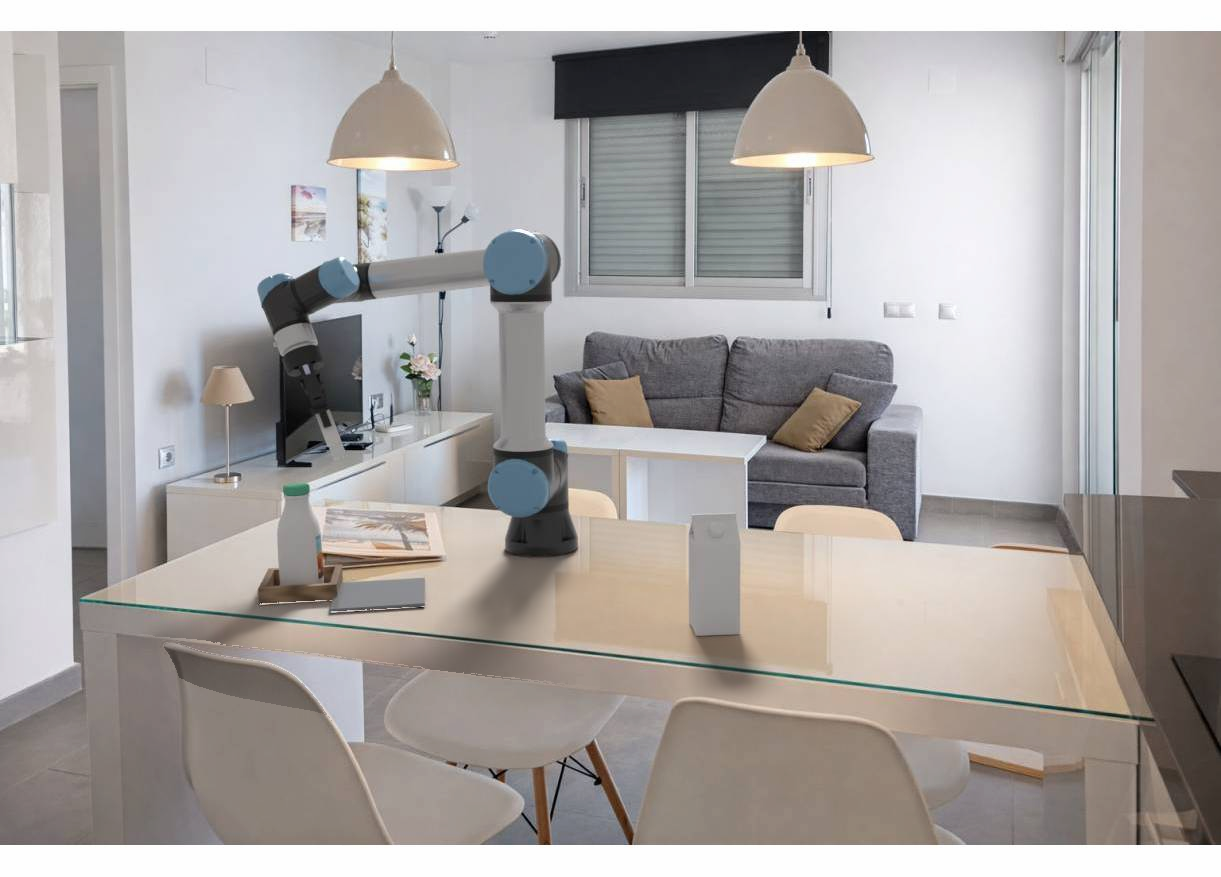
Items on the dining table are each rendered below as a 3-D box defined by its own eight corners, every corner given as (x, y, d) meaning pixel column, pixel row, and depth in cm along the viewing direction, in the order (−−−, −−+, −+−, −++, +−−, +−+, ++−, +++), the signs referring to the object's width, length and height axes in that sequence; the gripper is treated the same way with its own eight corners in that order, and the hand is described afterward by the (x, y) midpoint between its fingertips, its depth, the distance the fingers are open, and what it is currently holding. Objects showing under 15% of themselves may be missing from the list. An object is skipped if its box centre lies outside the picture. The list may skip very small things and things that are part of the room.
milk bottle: (312, 599, 198) (306, 489, 194) (272, 597, 199) (265, 488, 196) (331, 587, 205) (325, 480, 202) (293, 585, 207) (286, 479, 203)
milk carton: (688, 622, 182) (688, 509, 179) (731, 620, 183) (731, 508, 180) (695, 637, 175) (695, 519, 172) (740, 635, 176) (740, 518, 173)
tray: (342, 579, 210) (342, 564, 209) (337, 600, 197) (336, 584, 196) (269, 584, 207) (268, 568, 207) (259, 605, 194) (258, 589, 194)
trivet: (424, 581, 207) (424, 577, 207) (424, 607, 192) (424, 603, 192) (337, 587, 205) (337, 582, 205) (330, 613, 189) (329, 609, 189)
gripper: (289, 374, 227) (324, 469, 224) (272, 338, 203) (311, 444, 200) (324, 362, 229) (360, 456, 226) (312, 325, 205) (351, 430, 202)
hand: (337, 451), depth 213 cm, fingers open, 13 cm apart
